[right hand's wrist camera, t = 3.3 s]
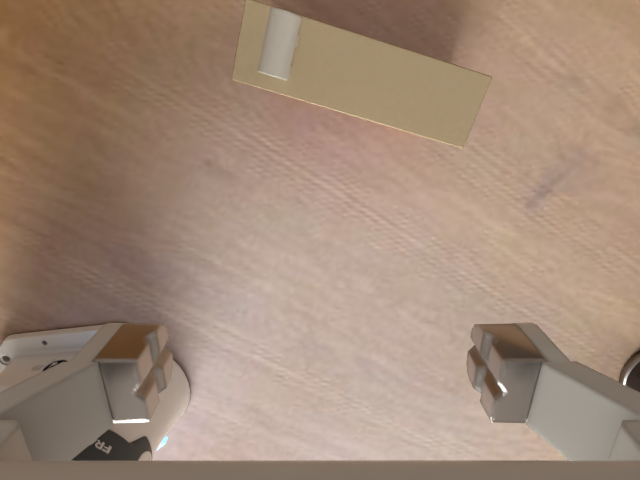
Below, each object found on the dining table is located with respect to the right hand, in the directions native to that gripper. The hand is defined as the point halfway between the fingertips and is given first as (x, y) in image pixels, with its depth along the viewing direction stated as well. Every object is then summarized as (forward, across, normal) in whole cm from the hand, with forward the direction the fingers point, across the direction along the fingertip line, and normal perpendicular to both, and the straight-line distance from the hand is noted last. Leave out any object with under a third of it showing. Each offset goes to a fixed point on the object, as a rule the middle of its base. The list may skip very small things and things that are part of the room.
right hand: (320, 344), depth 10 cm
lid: (+20, -3, -7) cm, 21 cm away
